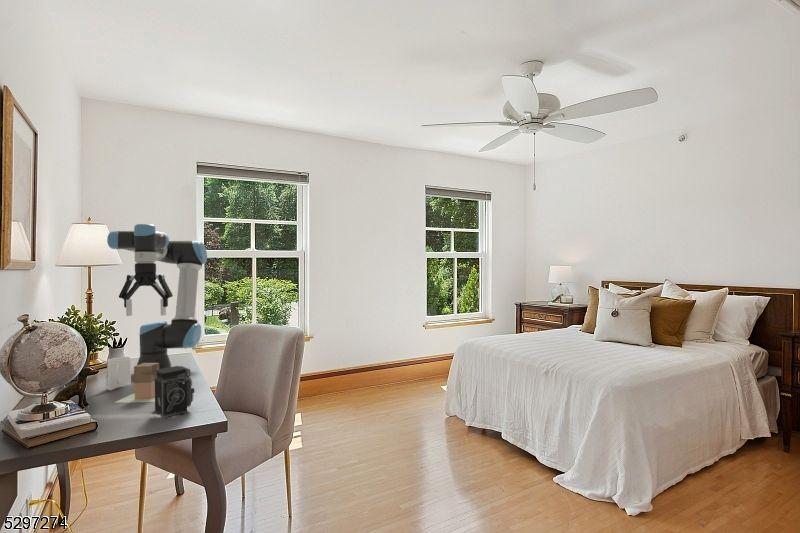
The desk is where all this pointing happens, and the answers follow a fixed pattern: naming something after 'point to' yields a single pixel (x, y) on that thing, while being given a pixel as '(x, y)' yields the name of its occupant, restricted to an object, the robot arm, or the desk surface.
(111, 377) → the white rectangular block
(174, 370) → the camera
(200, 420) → the desk surface
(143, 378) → the walnut brick
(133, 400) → the build board
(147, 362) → the robot arm
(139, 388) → the terracotta brick
